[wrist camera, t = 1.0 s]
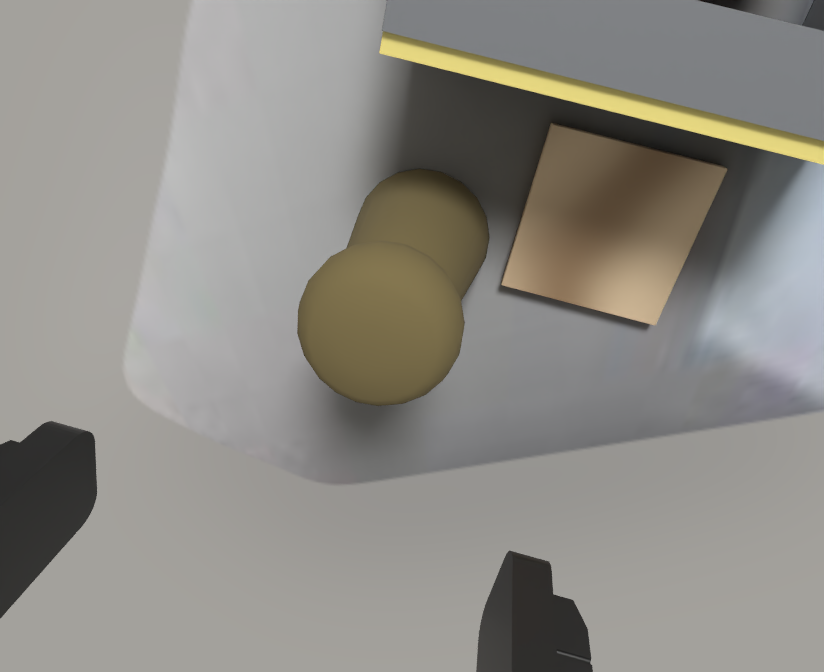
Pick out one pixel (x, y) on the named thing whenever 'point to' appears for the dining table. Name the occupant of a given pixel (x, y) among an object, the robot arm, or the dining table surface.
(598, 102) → the box
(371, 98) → the dining table surface
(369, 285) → the olive brown knobbed peg
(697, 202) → the cork coaster
